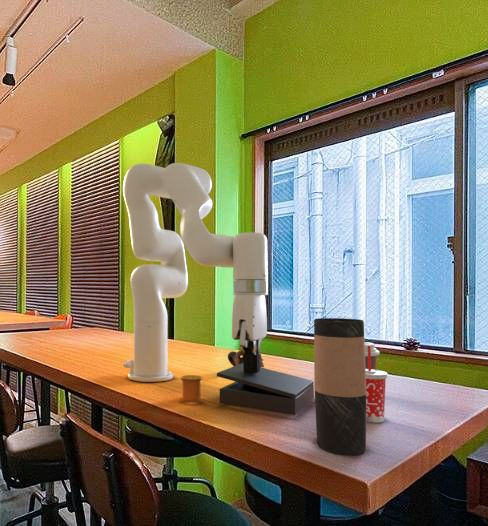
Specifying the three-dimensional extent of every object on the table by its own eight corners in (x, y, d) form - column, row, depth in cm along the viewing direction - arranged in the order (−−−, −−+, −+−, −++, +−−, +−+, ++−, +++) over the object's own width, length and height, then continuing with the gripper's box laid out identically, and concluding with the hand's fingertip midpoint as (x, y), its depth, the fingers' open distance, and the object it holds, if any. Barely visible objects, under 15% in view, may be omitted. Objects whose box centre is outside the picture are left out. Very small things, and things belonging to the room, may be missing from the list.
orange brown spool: (177, 403, 95) (177, 377, 96) (187, 399, 99) (187, 374, 99) (195, 406, 93) (195, 380, 93) (205, 401, 97) (205, 376, 97)
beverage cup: (346, 417, 86) (345, 344, 86) (366, 412, 88) (365, 342, 89) (375, 425, 80) (373, 348, 81) (395, 420, 83) (393, 346, 84)
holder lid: (216, 376, 93) (217, 372, 93) (242, 366, 105) (243, 362, 105) (294, 398, 84) (295, 394, 84) (313, 384, 96) (313, 380, 96)
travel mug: (377, 449, 68) (374, 320, 70) (349, 460, 64) (346, 322, 65) (333, 435, 75) (331, 317, 76) (305, 444, 70) (303, 319, 71)
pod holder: (219, 407, 92) (219, 388, 92) (245, 393, 105) (245, 376, 105) (295, 419, 84) (295, 399, 84) (314, 402, 96) (313, 384, 96)
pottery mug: (269, 374, 130) (270, 352, 126) (253, 393, 124) (253, 371, 120) (235, 360, 137) (234, 338, 133) (218, 377, 131) (216, 355, 127)
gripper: (246, 288, 106) (248, 365, 105) (220, 288, 93) (221, 376, 92) (277, 288, 102) (279, 368, 101) (254, 288, 89) (256, 379, 88)
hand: (251, 371), depth 96 cm, fingers closed
